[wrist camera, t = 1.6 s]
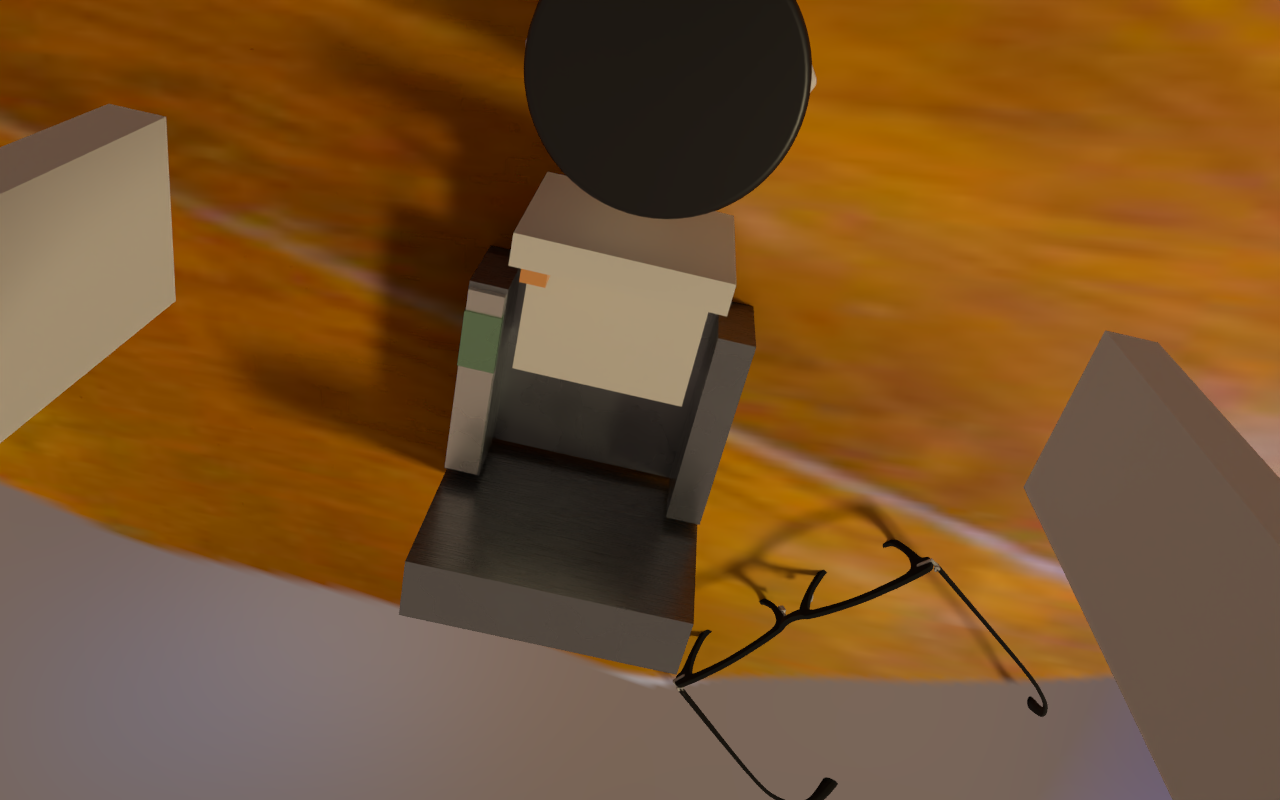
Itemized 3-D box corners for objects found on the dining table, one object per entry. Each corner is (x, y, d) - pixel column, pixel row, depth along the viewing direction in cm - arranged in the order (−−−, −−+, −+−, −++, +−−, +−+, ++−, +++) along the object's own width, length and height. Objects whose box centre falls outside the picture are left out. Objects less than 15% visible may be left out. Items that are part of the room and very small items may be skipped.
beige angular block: (553, 161, 38) (513, 232, 31) (733, 204, 38) (736, 284, 31) (522, 336, 42) (481, 435, 35) (686, 373, 43) (679, 479, 35)
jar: (537, -53, 35) (461, -16, 25) (739, -153, 33) (747, -157, 23) (631, 163, 39) (599, 272, 29) (817, 87, 37) (854, 175, 27)
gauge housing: (490, 245, 41) (429, 347, 33) (753, 306, 42) (761, 423, 33) (457, 478, 48) (399, 614, 39) (684, 529, 48) (676, 674, 40)
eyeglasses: (924, 505, 47) (940, 556, 44) (1061, 693, 53) (1085, 751, 49) (661, 636, 53) (657, 690, 50) (810, 792, 59) (816, 851, 55)
